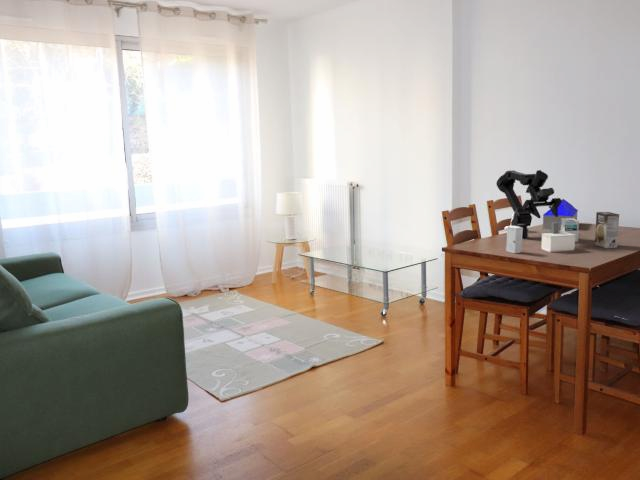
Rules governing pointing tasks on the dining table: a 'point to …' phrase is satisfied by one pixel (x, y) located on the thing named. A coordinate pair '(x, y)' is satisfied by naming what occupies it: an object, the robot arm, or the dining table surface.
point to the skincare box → (514, 239)
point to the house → (559, 214)
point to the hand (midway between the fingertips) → (548, 217)
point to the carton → (558, 243)
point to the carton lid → (556, 231)
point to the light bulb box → (570, 227)
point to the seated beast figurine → (510, 224)
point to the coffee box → (606, 229)
